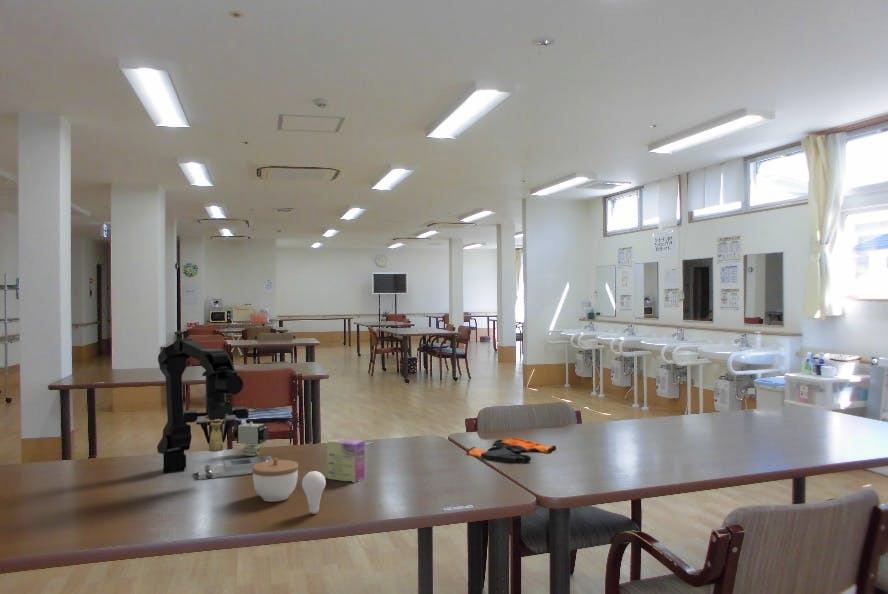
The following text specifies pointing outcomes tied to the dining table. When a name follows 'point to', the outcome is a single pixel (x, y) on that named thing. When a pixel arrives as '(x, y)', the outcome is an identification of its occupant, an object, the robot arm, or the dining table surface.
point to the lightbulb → (313, 489)
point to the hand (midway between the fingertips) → (215, 442)
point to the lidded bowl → (275, 479)
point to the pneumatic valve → (251, 436)
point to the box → (345, 459)
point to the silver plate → (231, 467)
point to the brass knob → (215, 435)
